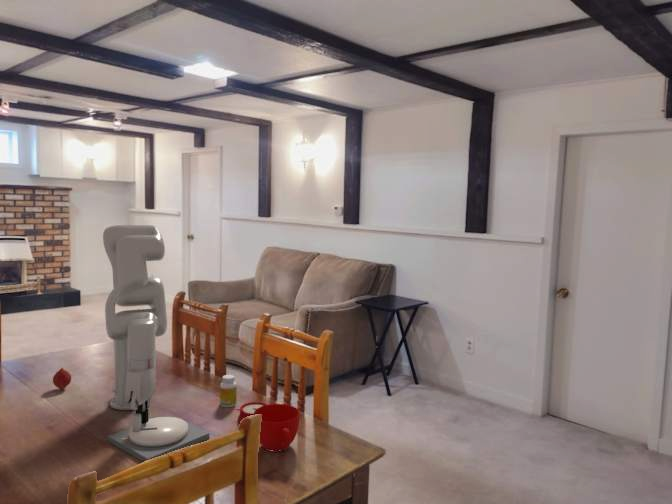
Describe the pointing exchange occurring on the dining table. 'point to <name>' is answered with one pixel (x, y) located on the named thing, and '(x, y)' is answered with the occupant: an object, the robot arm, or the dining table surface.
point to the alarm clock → (248, 409)
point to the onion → (62, 379)
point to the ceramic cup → (278, 425)
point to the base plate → (148, 453)
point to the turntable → (157, 431)
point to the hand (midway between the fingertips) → (142, 422)
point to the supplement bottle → (228, 391)
